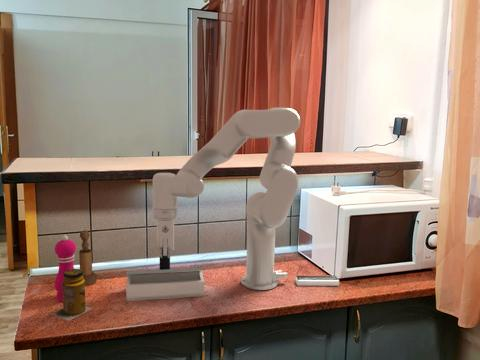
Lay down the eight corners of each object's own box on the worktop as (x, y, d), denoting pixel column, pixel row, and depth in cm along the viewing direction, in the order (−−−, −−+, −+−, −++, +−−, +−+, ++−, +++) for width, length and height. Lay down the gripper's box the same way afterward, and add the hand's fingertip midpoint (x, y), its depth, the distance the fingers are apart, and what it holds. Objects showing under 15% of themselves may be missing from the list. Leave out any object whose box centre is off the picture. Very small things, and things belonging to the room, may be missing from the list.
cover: (201, 270, 142) (201, 267, 142) (204, 270, 133) (204, 267, 133) (127, 274, 137) (127, 271, 137) (126, 274, 128) (126, 271, 129)
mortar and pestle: (96, 285, 140) (94, 233, 137) (75, 287, 138) (73, 234, 135) (96, 277, 146) (95, 227, 143) (77, 279, 144) (74, 228, 141)
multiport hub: (294, 281, 149) (295, 275, 148) (335, 281, 149) (335, 275, 149) (297, 286, 144) (297, 280, 144) (338, 286, 145) (339, 280, 145)
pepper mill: (71, 303, 127) (68, 239, 123) (49, 301, 128) (46, 237, 125) (84, 293, 134) (82, 232, 130) (64, 291, 135) (61, 231, 132)
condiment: (92, 308, 124) (91, 270, 122) (69, 321, 116) (67, 280, 114) (74, 303, 127) (72, 265, 125) (50, 315, 120) (48, 275, 118)
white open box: (201, 284, 143) (201, 270, 142) (204, 296, 134) (204, 281, 133) (128, 288, 138) (127, 274, 137) (126, 301, 129) (126, 285, 128)
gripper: (178, 218, 124) (177, 277, 127) (176, 207, 139) (175, 260, 142) (152, 219, 123) (152, 278, 126) (152, 207, 137) (152, 260, 140)
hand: (164, 268), depth 134 cm, fingers closed
